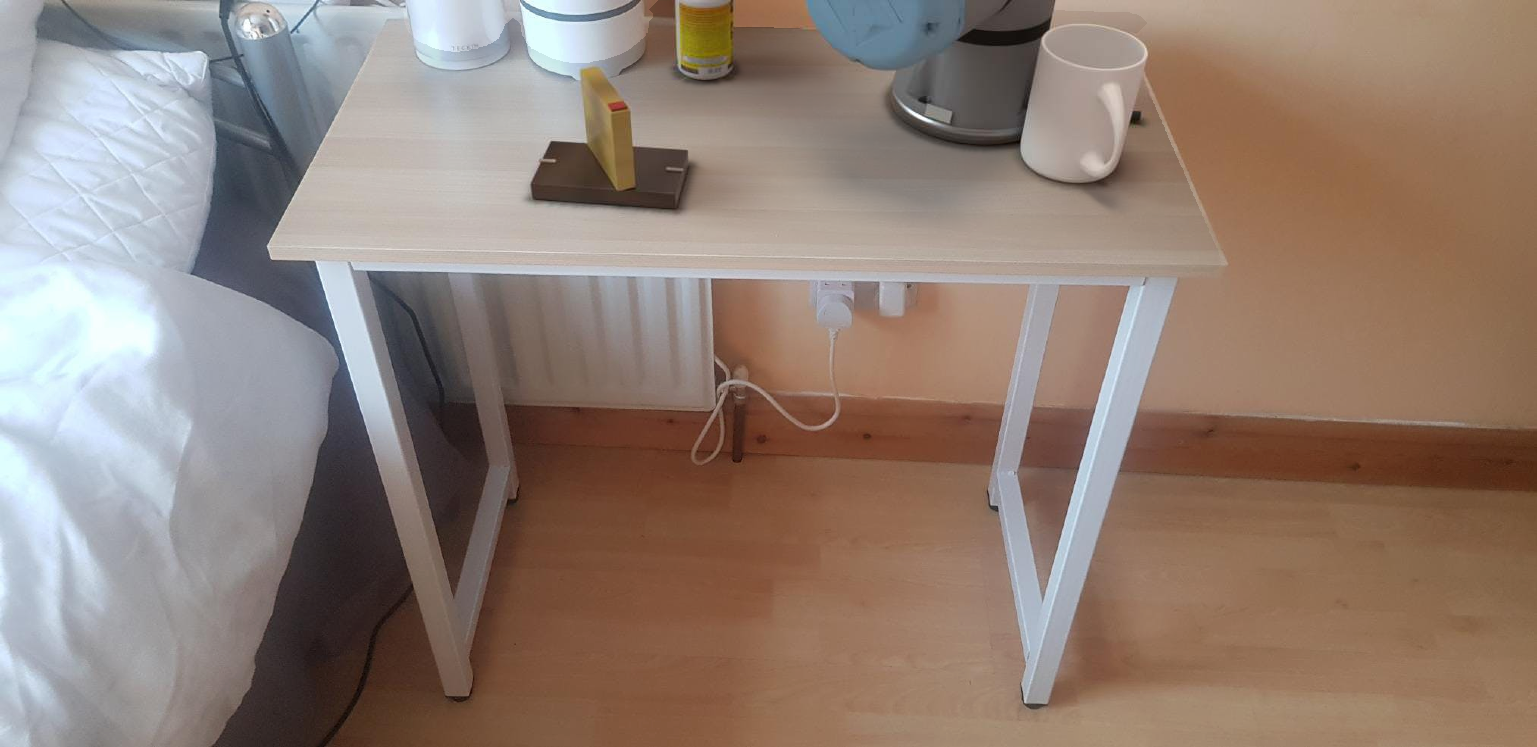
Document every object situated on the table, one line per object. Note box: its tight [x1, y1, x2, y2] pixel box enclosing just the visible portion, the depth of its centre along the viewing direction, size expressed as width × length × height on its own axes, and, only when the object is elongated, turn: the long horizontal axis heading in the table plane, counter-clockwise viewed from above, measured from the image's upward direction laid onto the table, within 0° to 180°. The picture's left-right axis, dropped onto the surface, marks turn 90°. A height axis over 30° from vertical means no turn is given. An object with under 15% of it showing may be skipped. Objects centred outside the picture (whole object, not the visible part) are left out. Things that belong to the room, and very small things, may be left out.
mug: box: [1020, 23, 1149, 184], centre depth 91 cm, size 9×12×11 cm
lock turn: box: [579, 65, 636, 191], centre depth 88 cm, size 8×2×7 cm, turn 25°
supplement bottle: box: [674, 0, 734, 81], centre depth 104 cm, size 6×6×10 cm
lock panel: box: [530, 140, 689, 210], centre depth 91 cm, size 12×7×2 cm, turn 85°
